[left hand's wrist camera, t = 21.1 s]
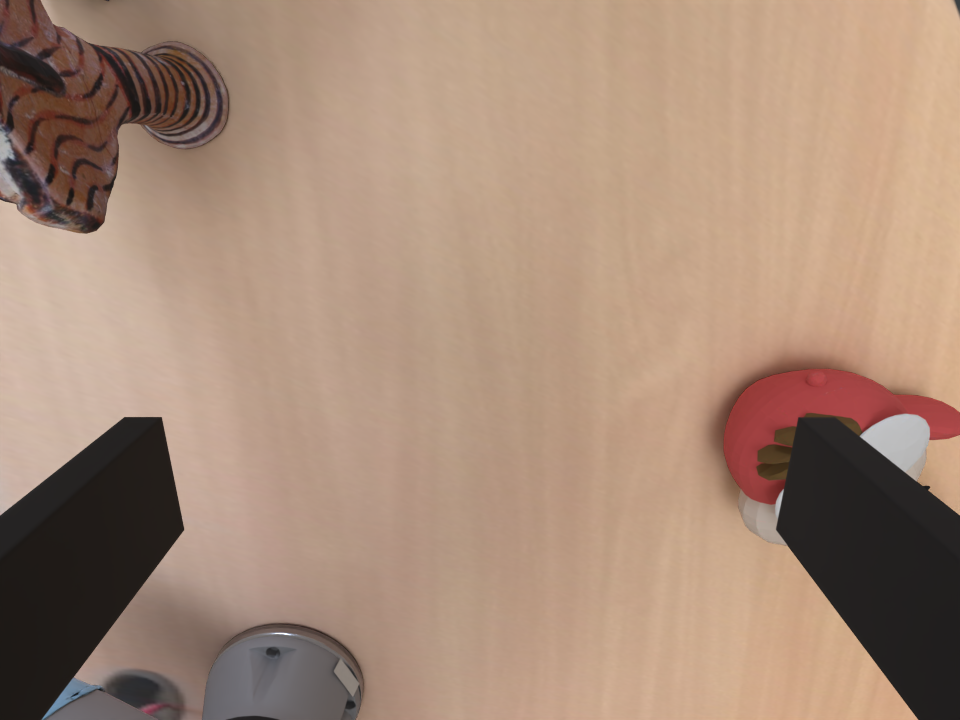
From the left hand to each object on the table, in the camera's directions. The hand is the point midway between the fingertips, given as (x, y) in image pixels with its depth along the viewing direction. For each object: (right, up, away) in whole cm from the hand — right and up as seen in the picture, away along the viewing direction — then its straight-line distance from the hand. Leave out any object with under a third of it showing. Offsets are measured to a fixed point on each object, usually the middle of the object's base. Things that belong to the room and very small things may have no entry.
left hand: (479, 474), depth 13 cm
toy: (+32, -9, +41) cm, 53 cm away
